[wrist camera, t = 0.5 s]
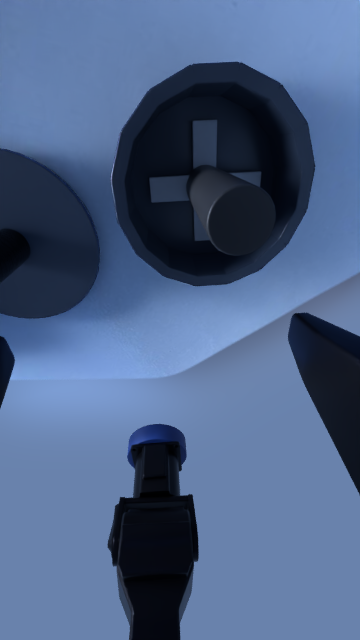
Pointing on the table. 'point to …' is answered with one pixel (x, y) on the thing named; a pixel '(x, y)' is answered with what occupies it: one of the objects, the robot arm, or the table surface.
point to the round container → (232, 156)
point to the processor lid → (42, 241)
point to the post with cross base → (219, 198)
